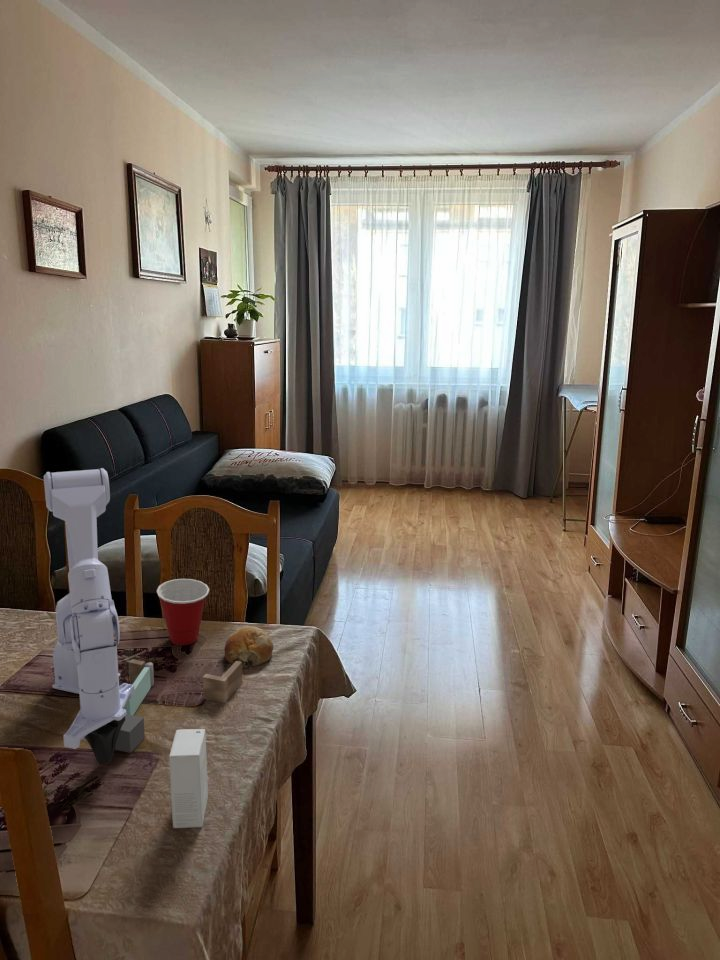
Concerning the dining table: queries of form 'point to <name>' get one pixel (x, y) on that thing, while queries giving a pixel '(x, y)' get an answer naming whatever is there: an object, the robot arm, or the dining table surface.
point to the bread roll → (249, 646)
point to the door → (140, 689)
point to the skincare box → (188, 778)
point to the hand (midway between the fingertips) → (104, 759)
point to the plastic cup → (183, 608)
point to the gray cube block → (130, 733)
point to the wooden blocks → (205, 681)
